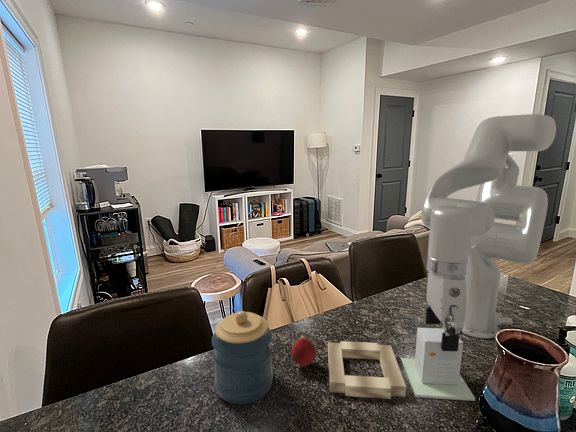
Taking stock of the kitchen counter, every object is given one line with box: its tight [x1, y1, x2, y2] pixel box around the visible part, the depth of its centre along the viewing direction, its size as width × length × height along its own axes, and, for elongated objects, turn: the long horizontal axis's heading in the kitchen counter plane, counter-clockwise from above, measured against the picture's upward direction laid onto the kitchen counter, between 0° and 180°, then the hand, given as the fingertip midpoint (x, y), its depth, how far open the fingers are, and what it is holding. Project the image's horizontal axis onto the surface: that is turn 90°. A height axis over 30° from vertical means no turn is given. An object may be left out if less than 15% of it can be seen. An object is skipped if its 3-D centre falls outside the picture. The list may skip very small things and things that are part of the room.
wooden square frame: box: [327, 340, 407, 400], centre depth 74 cm, size 16×16×2 cm
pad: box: [400, 357, 476, 402], centre depth 72 cm, size 12×12×1 cm
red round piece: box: [290, 335, 317, 367], centre depth 76 cm, size 6×6×8 cm
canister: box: [211, 310, 274, 405], centre depth 69 cm, size 13×13×18 cm
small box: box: [414, 327, 464, 385], centre depth 71 cm, size 8×6×10 cm
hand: (440, 336), depth 70 cm, fingers open, 9 cm apart
